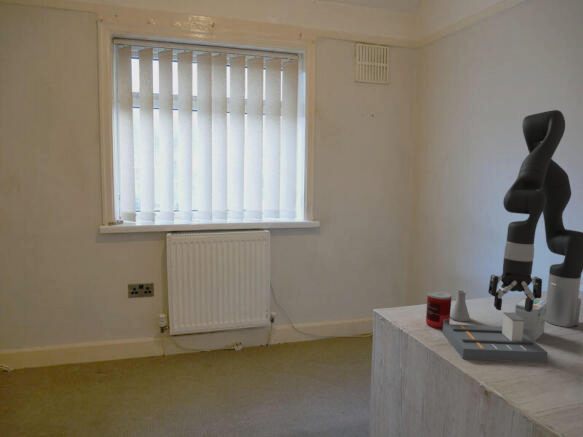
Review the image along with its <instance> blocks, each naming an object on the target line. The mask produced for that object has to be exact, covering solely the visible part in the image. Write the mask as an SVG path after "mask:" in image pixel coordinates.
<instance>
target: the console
mask: <svg viewBox="0 0 583 437" xmlns="http://www.w3.org/2000/svg"><path fill="white" fill-rule="evenodd" d="M502 327H503V325H502V326H501V325H499V326H497V325H478V324H477V325H476V324H474V325H473V324H472V325H471V324H452V323H451V324H450V323H449V324H443V329H442V332H441V333H442V334H443V336H444V337H445V338H446V340H448V342H449V343H450V344H451V346H452V347H453V348H454V350H455V351H456V352H457V353H458V354H459V356H460V358H462V359H464V360H479V361H481V360H485V361H499V362H500V361H501V362H502V361H505V362H525V363H529V362H530V363H544V364H546V363H547V362H548V361H547V360H548V351H547V350H545V349H544V348H542V347H541V346H540V345H539V344H537V343H536V341H532V340H531V339H530V338H529V337H527V336H526V335H525V334H524V333H523V336H522V341H510V340H509V339H508V338H507V337H506V336H505V335H504V334H502Z"/></svg>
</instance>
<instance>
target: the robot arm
mask: <svg viewBox="0 0 583 437" xmlns="http://www.w3.org/2000/svg"><path fill="white" fill-rule="evenodd" d="M565 130H566V119H565V116H564V114H563V112H562V111H561V110H559V109H554V110H553V109H552V110H547V111H543V112H542V111H541V112H539V113H534V114H529V115H527V116H525V117H524V118H523V120H522V133H523V137H524V141H525V144H526V147H527V150H528V154H527V156H526V157H525V158H524V159H523V161H522V163H521V165H520V168H519V171H518V175H517V177H516V179H515V181H514V182H513V184H512V185H511V187H510V188H509V189H508V190H507V192H506V193H505V195H504V197H503V200H502V201H503V202H502V204H503V208H504V209H505V211H507V212H508V213H511V214H522V215H529V216H528V217H527V218H526V219H525V220H518V221H511V222H509V223H508V226H507V234H506V243H505V247H504V254H503V262H502V263H503V264H502V273H501V275H496V274H491V275H490V279H489V283H488V284H489V285H488V291H487V292H488V294H489V295H490V296H492V297H494V300H493V301H494V302H493V307H494V308H495V309H496V310H497V311H502V306H503V297H504V296H505V295H506V294H507V293H509V292H518V293H521V292H522V293H524V295H525V298H526V300H525V310H526V311H527V312H531V310H532V309H533V301H534V299H535V300H537V299H541V298H542V292H543V290H542V289H543V279H542V278H540V277H538V276H534V277H532V273H533V265H534V257H535V255H534V254H535V238H536V230H537V226H538V223H539V220H540V217H541V216H542V217H543V222H544V231H545V241H546V245H547V249H548V250H549V251H550V252H551V253H553V254H554V255H555V254H556V255H559V256H564V258H563V261H562V262H561V263H555V264H551V265H550V266H549V273H548V281H547V291H546V292H547V293H546V300H545V302H547V308H546V317H545V322H546V323H549V324H552V325H556V326H560V327H565V328H567V327H568V328H571V327H572V326H573V327H575V325H578V326H579V323H580V311H581V305H582V299H581V298H580V296H579V295H580V286H581V278H582V273H583V231H579V230H573V229H567V228H565V225H564V221H563V214H564V212H565V210H566V207H567V206H568V204H569V202H570V200H571V197H572V189H571V182H570V179H569V176H568V173H567V172H566V171H565V169H563V167H562V166H560V165H559V164H558V163H556V161H555V160H553V156H554V154H555V153H556V150H557V148H558V147H559V145H560V143H561V141H562V139H563V137H564V134H565ZM542 214H543V215H542ZM500 282H501V284H500V285H498V284H499V283H500ZM531 284H532V289H531V288H530V287H529V285H531ZM573 327H572V328H573Z"/></svg>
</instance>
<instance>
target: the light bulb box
mask: <svg viewBox="0 0 583 437" xmlns="http://www.w3.org/2000/svg"><path fill="white" fill-rule="evenodd" d="M526 298H527V297H524V298H523V299H522V300H521V301H519V302H517V303H516V304H515V308H514V309H515V310H514V313H515V314H516V315H518V316H519V317H521V318H522V319H523V320H525V321H524V326H523V333H524V334H525V335H526V336H527V337H529V338H530V339H531V340H532V341H534V342H536V341H537V340H538V339H539V338H540V337H541V336H542V335H543V334H544V333H545V324H546V321H545V317H546V308H547V302H546V300H545V301H544V300H539V299H534V301H533V309H532V310H531V312H527V311H526V310H525V300H526Z"/></svg>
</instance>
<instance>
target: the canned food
mask: <svg viewBox="0 0 583 437" xmlns="http://www.w3.org/2000/svg"><path fill="white" fill-rule="evenodd" d="M451 307H452V294H451V293H450V292H447V291H443V290H430V291H428V292H427V297H426V313H425V314H426V315H425V323H426V325H427V326H429V327H431V328H433V329H440V330H441V329H442V330H443V324H450V319H451V318H450V313H451V311H452V309H451Z"/></svg>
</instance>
